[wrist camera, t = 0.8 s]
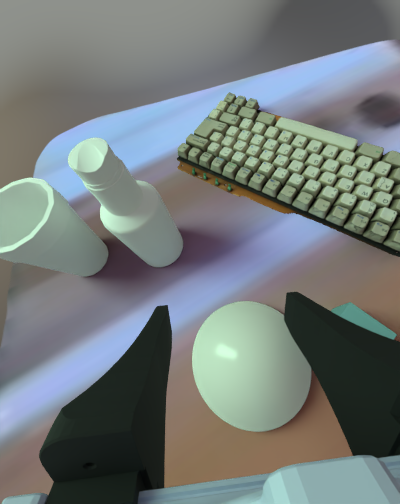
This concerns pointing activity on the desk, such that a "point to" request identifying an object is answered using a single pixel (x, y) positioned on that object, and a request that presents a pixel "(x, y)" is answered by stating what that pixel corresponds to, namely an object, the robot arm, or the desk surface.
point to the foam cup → (46, 230)
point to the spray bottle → (127, 204)
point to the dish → (250, 367)
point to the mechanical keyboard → (298, 170)
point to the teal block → (362, 319)
